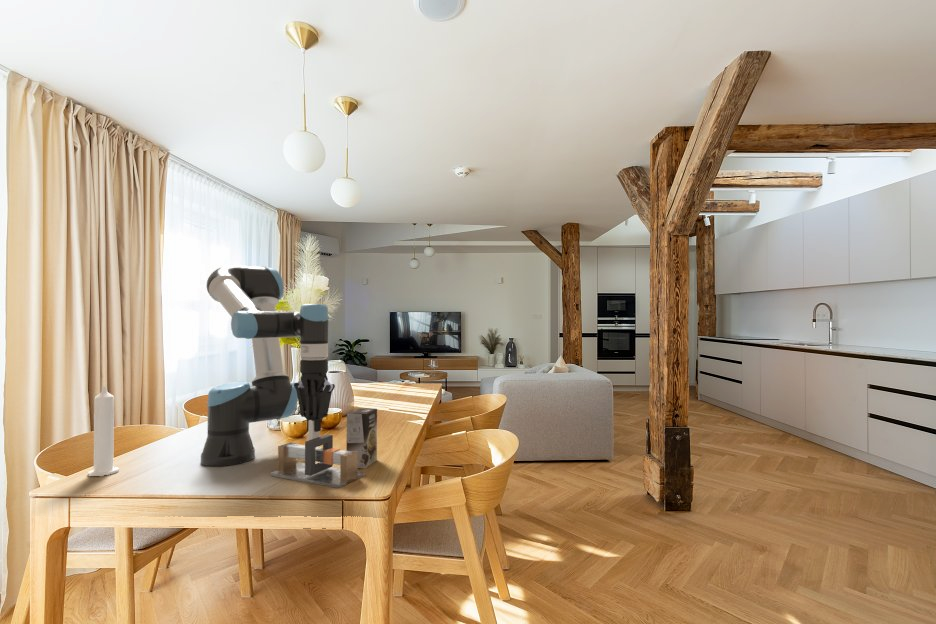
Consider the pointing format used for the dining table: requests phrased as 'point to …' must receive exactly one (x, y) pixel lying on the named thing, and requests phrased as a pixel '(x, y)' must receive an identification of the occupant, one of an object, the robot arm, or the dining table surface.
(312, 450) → the grey square ring
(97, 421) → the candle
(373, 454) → the coffee box
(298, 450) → the rail
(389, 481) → the dining table surface
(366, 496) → the dining table surface
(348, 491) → the dining table surface
